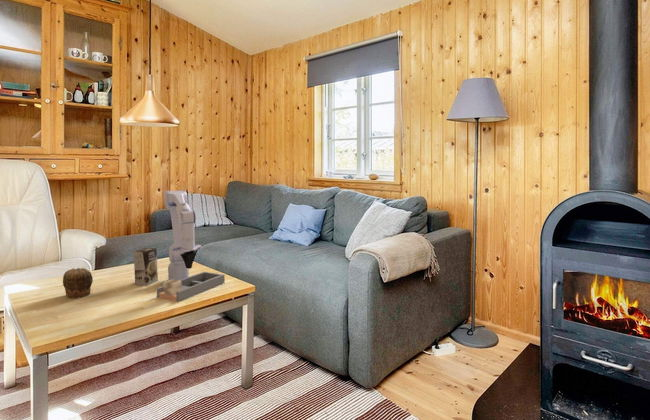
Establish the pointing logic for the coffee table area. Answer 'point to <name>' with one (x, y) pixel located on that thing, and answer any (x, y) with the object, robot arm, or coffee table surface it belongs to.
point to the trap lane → (193, 286)
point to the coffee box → (145, 266)
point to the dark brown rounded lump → (77, 282)
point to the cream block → (172, 287)
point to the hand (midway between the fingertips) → (188, 268)
